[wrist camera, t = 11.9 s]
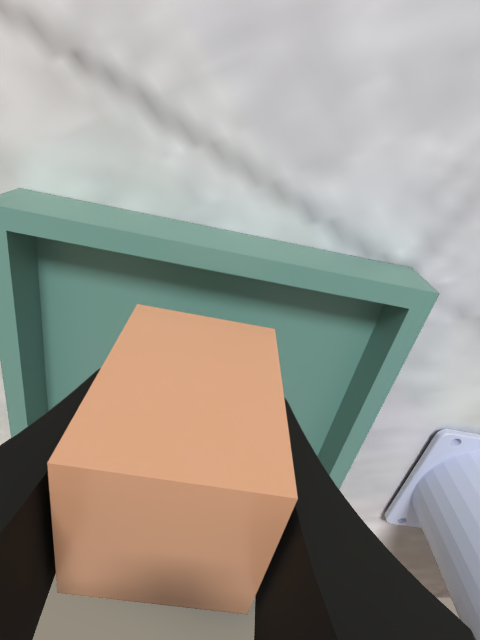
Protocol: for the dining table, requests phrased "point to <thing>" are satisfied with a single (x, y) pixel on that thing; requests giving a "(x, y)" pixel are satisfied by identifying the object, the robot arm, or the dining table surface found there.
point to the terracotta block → (175, 467)
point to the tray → (200, 309)
